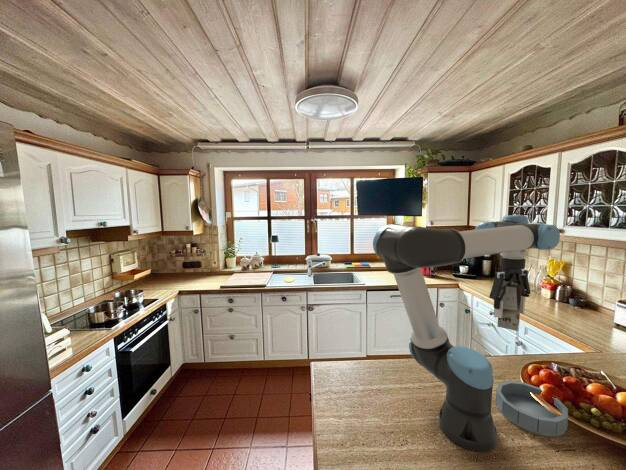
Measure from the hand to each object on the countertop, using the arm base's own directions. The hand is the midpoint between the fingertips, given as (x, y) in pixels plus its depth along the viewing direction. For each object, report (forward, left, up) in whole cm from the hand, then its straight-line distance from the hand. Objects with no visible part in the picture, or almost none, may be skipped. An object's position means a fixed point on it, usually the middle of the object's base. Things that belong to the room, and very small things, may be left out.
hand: (508, 314), depth 99 cm
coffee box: (0, 0, -4) cm, 4 cm away
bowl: (-10, -15, -26) cm, 31 cm away
